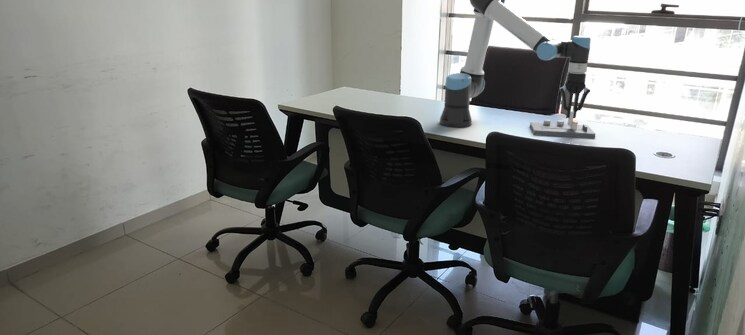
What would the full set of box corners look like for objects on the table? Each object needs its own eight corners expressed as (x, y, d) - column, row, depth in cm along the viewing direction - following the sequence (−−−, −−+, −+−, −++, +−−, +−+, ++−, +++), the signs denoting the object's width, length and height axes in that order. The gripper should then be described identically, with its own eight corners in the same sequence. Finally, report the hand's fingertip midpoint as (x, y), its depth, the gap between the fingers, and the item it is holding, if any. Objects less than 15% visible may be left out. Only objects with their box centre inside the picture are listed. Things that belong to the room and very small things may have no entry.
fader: (571, 129, 238) (572, 122, 237) (570, 127, 242) (571, 120, 241) (576, 129, 237) (577, 122, 236) (575, 127, 241) (576, 120, 240)
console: (533, 134, 238) (534, 125, 236) (529, 126, 252) (530, 118, 251) (594, 138, 233) (596, 129, 232) (587, 129, 248) (588, 121, 247)
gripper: (562, 73, 229) (556, 126, 237) (594, 74, 227) (586, 127, 235) (560, 70, 237) (553, 122, 244) (590, 71, 234) (583, 124, 242)
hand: (569, 125), depth 239 cm, fingers closed
